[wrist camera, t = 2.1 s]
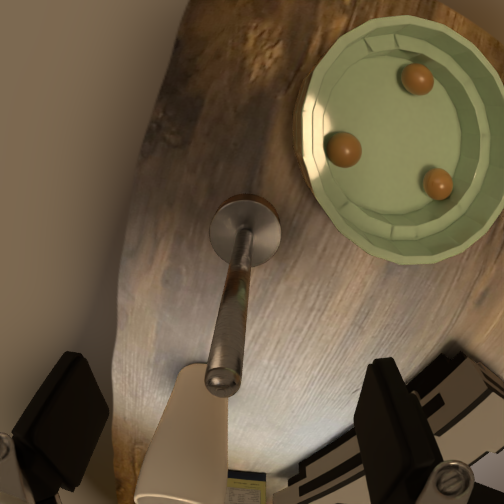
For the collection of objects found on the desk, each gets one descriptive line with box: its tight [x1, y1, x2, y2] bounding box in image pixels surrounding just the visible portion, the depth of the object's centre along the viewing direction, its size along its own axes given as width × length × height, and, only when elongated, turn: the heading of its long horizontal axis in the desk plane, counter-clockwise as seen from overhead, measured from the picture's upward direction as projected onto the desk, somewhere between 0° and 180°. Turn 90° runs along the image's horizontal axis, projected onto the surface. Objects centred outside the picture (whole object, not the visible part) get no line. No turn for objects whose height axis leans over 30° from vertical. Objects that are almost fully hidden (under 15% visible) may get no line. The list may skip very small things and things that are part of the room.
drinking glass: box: [134, 363, 228, 504], centre depth 24 cm, size 7×7×15 cm
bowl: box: [292, 15, 504, 265], centre depth 18 cm, size 15×15×6 cm
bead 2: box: [401, 63, 434, 96], centre depth 17 cm, size 2×2×2 cm
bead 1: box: [326, 132, 362, 168], centre depth 20 cm, size 2×2×2 cm
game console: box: [273, 351, 504, 504], centre depth 31 cm, size 21×32×8 cm, turn 146°
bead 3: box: [423, 168, 453, 200], centre depth 20 cm, size 2×2×2 cm
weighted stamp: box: [204, 193, 282, 398], centre depth 17 cm, size 5×5×16 cm
